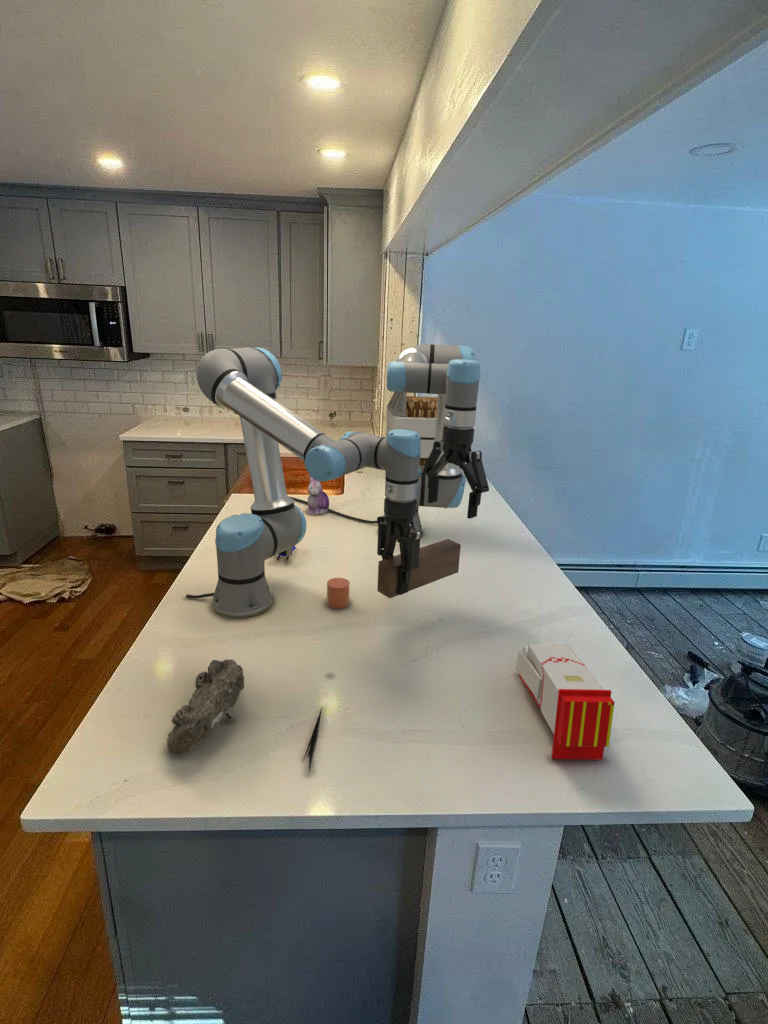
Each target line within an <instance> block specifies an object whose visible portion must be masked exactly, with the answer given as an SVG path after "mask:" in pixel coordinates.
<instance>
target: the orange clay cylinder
mask: <svg viewBox="0 0 768 1024" xmlns="http://www.w3.org/2000/svg"><path fill="white" fill-rule="evenodd" d="M350 584H351V583H350V580H348V579H347V578H343V577H332V578H330V579H328V580H327V581H326V605H327V606H328V607H329V608H332V609H343V608H346V607H348V606H349V605H350V592H351V591H350V589H351V587H350V586H351V585H350Z"/></svg>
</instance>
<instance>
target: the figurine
mask: <svg viewBox="0 0 768 1024" xmlns="http://www.w3.org/2000/svg"><path fill="white" fill-rule="evenodd" d="M307 492H308V497H307V502H308V504H307V513H308V515H313V516H317V515H323V514H326V513H329V512H328V509H330V497H329V496H328V494H327V493H326V492H325V491H323V485H322V484H321V482H320V481H316V480H314V479H313V478H312V477H311V476H310V475H309V484H308V487H307Z"/></svg>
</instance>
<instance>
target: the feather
mask: <svg viewBox="0 0 768 1024" xmlns="http://www.w3.org/2000/svg"><path fill="white" fill-rule="evenodd" d="M329 675H330V676H331V675H332V674H331V673H330V674H329ZM322 710H323V707H321V708H320V710H319V713H318V716H317V719H316V723H315V725H314V728H313V731H312V733H311V737H310V739H309V742H308V745H307V748H306V751H305V754H304V757H303V760H302V763H301V767H302V765H303V763H304V761H305V758H308V759H309V760H308V762H307V763H308V764H307V766H308V771H310V770H311V766H312V765H311V764H312V760H313V757H315V756H314V755H315V751H316V749H315V746H317V739H318V733H319V729H320V722H321V717H322V712H323V711H322ZM313 754H314V755H313ZM306 755H307V757H306Z"/></svg>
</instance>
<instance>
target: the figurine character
mask: <svg viewBox="0 0 768 1024" xmlns="http://www.w3.org/2000/svg"><path fill="white" fill-rule="evenodd" d="M296 549H297V547H296V545H295V546H294V547H292V548H291V549H288V550H285V551H283V552H281V553H279V554H277V555H275V556H274V557H276V561H280V559H281V557H282V558H285V561H286V562H288V561H289V559H290V557H292V556H293V552H294V551H295V550H296Z"/></svg>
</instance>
